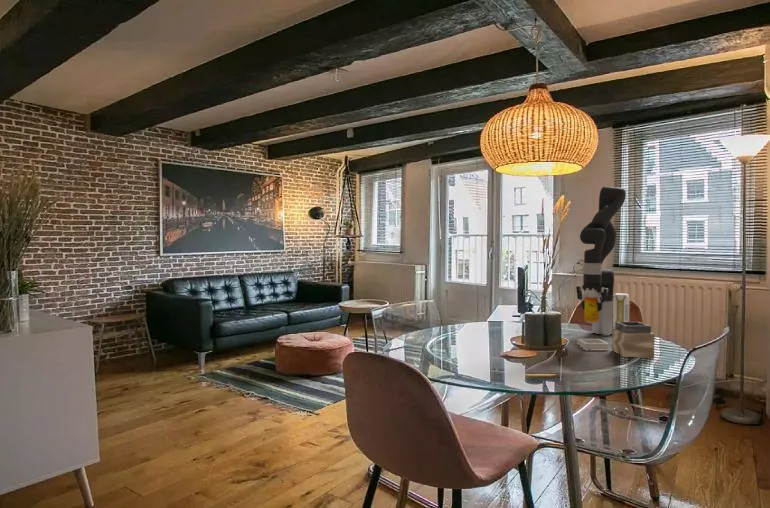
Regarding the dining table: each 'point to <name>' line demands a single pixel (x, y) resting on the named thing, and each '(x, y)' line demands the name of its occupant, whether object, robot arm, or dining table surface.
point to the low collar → (593, 343)
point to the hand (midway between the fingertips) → (591, 309)
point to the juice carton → (620, 308)
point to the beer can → (591, 307)
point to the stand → (633, 339)
